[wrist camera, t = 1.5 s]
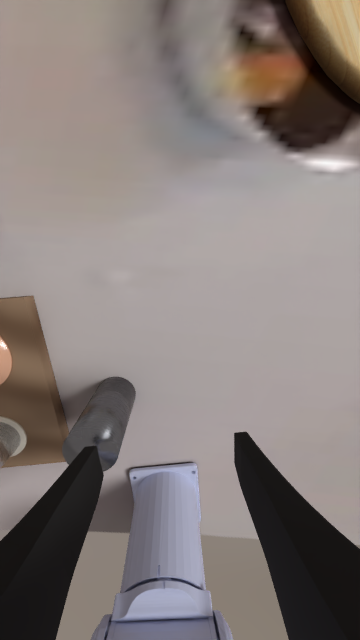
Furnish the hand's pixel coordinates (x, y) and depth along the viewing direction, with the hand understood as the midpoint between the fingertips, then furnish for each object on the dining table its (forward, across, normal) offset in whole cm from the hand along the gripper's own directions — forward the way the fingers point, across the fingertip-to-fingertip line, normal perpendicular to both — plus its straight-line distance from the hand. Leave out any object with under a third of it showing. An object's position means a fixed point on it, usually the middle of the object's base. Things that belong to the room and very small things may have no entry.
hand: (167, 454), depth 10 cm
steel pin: (+10, +6, +3) cm, 12 cm away
